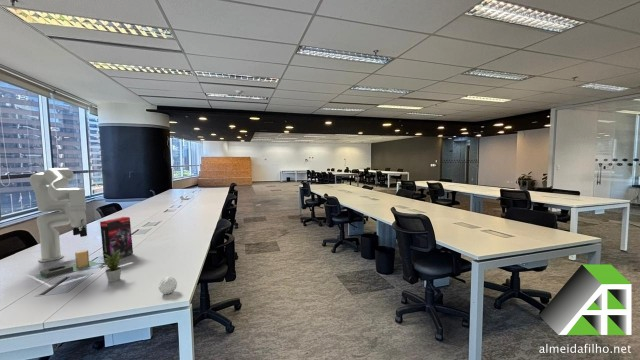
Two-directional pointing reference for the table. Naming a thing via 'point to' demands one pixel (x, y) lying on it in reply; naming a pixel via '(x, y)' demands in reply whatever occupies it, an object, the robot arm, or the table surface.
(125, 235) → the graphics card box
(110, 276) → the house plant
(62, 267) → the header board
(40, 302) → the table surface
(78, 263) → the plug
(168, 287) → the white rough ball
